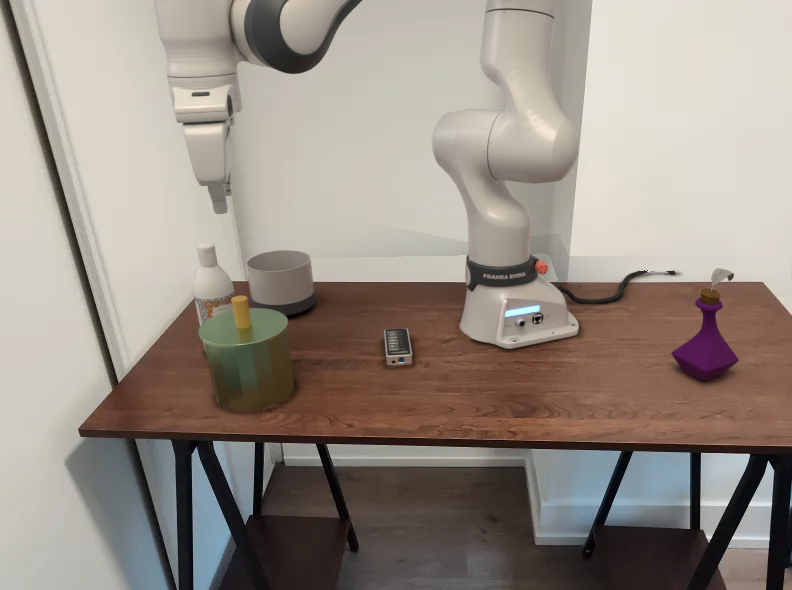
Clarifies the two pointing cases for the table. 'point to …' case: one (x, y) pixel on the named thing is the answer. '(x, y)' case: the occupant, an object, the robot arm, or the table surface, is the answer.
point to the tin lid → (243, 326)
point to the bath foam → (211, 285)
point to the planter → (281, 281)
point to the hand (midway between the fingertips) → (224, 203)
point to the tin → (251, 374)
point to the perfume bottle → (707, 338)
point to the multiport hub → (397, 346)
